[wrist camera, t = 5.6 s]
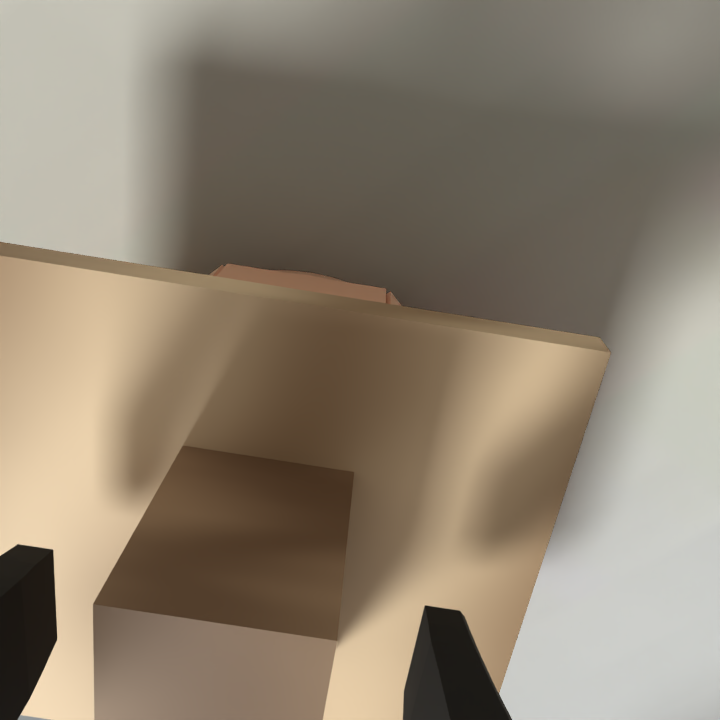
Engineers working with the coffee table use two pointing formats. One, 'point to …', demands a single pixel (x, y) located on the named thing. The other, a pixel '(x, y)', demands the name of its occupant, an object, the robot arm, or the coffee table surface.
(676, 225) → the coffee table surface
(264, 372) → the oak lid
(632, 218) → the coffee table surface
